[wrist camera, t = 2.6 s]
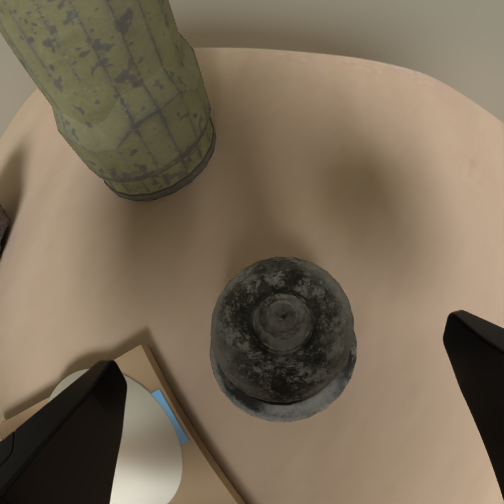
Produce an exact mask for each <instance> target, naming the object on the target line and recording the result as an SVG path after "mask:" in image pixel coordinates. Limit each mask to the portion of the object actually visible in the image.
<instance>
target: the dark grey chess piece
mask: <svg viewBox="0 0 504 504" xmlns="http://www.w3.org/2000/svg"><path fill="white" fill-rule="evenodd" d="M356 347H357V341H356V337H355V333H354V319H353V315H352V311H351V307H350V303H349V300H348V298H347V296H346V295H345V293H344V291H343V289H342V288H341V286H340V284H339V283H338V282H337V281H336V280H335V279H334V278H333V277H332V276H331V275H330V274H329V273H328V272H327V271H325V270H324V269H322V268H320V267H319V266H317V265H315V264H313V263H312V262H309V261H305V260H302V259H298V258H294V257H275V258H270V259H266V260H262V261H258V262H256V263H254V264H253V265H251V266H249V267H247V268H245V269H243V270H242V271H241V272H239V273H238V274H237V275H236V276H235V277H234V278H233V279H232V280H230V281H229V283H228V284H227V285H226V287H225V288H224V290H223V291H222V293H221V294H220V296H219V297H218V300H217V303H216V306H215V309H214V311H213V314H212V324H211V347H210V359H211V364H212V369H213V374H214V376H215V378H216V380H217V382H218V384H219V386H220V388H221V390H222V391H223V393H224V394H225V395H226V396H227V397H228V398H229V399H230V400H231V401H232V403H233V404H234V405H236V406H237V407H239V408H240V409H242V410H243V411H245V412H246V413H248V414H250V415H252V416H255V417H258V418H261V419H264V420H267V421H278V422H291V421H296V420H300V419H304V418H309V417H311V416H312V415H314V414H316V413H318V412H320V411H322V410H324V409H326V408H327V407H328V406H329V405H330V404H331V403H332V402H333V401H335V400H336V399H337V398H338V397H339V396H340V395H341V393H342V392H343V390H344V389H345V387H346V385H347V384H348V382H349V380H350V379H351V376H352V373H353V369H354V366H355V362H356Z"/></svg>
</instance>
